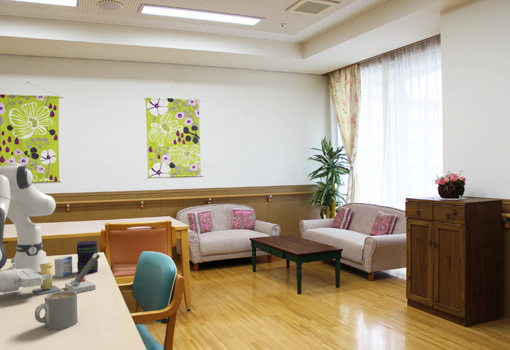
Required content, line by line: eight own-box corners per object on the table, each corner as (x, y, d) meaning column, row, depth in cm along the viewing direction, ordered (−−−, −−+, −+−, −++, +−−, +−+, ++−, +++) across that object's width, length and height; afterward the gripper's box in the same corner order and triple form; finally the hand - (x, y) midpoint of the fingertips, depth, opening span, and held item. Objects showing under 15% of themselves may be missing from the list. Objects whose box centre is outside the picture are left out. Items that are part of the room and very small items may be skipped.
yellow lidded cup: (38, 287, 189) (38, 264, 188) (51, 285, 192) (50, 262, 192) (42, 289, 185) (41, 266, 185) (54, 287, 188) (54, 264, 188)
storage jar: (95, 268, 228) (94, 240, 228) (100, 272, 220) (99, 242, 220) (75, 271, 223) (74, 242, 222) (79, 275, 214) (78, 245, 214)
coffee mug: (73, 316, 155) (72, 288, 155) (81, 324, 147) (80, 295, 147) (31, 325, 147) (30, 296, 147) (37, 334, 139) (36, 303, 139)
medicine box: (62, 277, 211) (62, 259, 211) (54, 277, 212) (54, 259, 212) (72, 273, 219) (72, 256, 219) (64, 273, 220) (64, 255, 220)
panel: (65, 287, 193) (64, 280, 193) (85, 283, 199) (85, 276, 199) (74, 293, 184) (73, 285, 184) (95, 289, 190) (95, 281, 190)
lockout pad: (32, 290, 189) (32, 289, 189) (54, 286, 195) (54, 285, 195) (38, 295, 182) (38, 293, 182) (61, 291, 188) (61, 289, 188)
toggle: (71, 282, 190) (94, 252, 197) (74, 284, 191) (96, 254, 197) (75, 284, 187) (98, 254, 193) (78, 286, 188) (100, 256, 194)
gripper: (18, 277, 172) (55, 271, 181) (7, 268, 188) (42, 263, 196) (18, 293, 172) (55, 286, 181) (7, 282, 188) (42, 277, 197)
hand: (48, 274), depth 189 cm, fingers closed on yellow lidded cup, 4 cm apart
